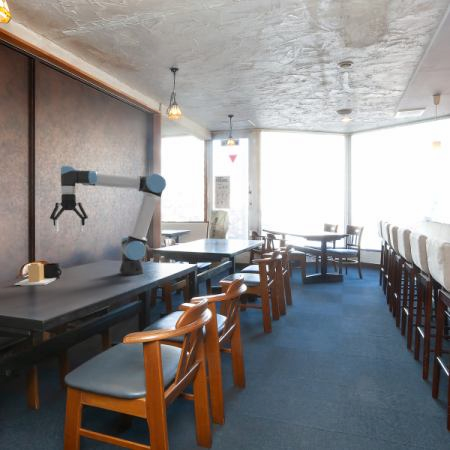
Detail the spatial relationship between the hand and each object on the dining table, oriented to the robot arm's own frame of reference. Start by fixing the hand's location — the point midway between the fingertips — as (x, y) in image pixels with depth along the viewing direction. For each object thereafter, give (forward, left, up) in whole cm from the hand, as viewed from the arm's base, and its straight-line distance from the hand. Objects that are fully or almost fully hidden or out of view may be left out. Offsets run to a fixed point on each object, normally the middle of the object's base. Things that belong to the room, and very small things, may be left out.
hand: (69, 231), depth 210 cm
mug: (+14, -11, -29) cm, 34 cm away
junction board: (+19, -2, -29) cm, 34 cm away
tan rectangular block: (+19, 0, -28) cm, 34 cm away
